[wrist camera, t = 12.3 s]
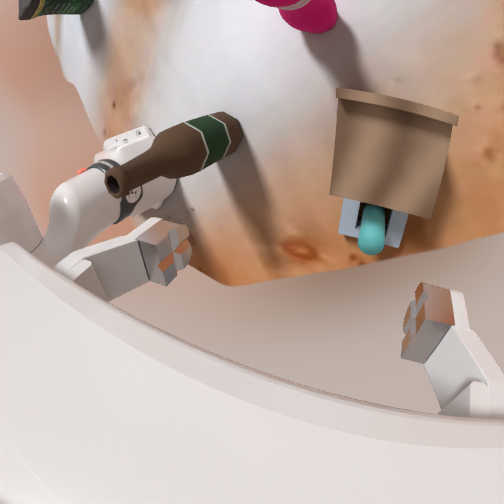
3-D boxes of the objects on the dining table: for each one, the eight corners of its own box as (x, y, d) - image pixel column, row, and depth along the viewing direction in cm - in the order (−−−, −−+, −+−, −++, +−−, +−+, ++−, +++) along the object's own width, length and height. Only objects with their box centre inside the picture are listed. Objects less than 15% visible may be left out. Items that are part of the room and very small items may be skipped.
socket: (340, 224, 44) (337, 233, 42) (353, 128, 35) (351, 131, 33) (398, 238, 41) (398, 248, 39) (420, 143, 32) (423, 147, 29)
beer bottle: (222, 162, 47) (120, 229, 30) (196, 129, 45) (84, 178, 28) (253, 137, 42) (148, 195, 25) (224, 101, 40) (105, 135, 23)
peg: (365, 197, 40) (360, 228, 33) (387, 202, 39) (387, 234, 31) (361, 217, 42) (355, 251, 35) (382, 222, 41) (380, 257, 34)
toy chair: (342, 165, 39) (326, 201, 29) (349, 87, 32) (336, 87, 22) (419, 183, 35) (432, 227, 25) (432, 105, 28) (458, 116, 18)
